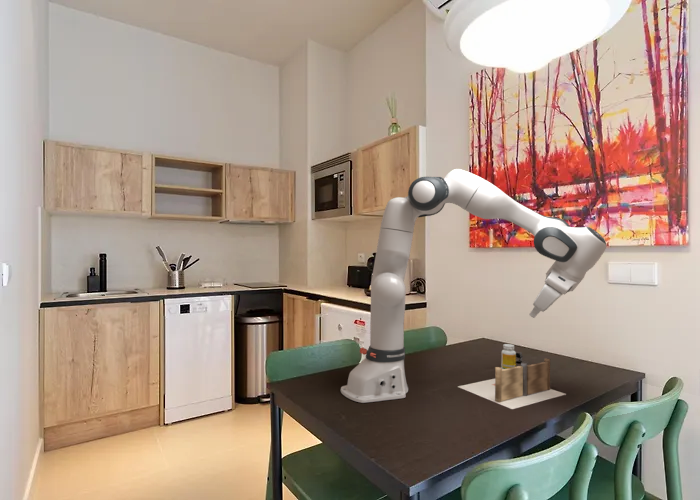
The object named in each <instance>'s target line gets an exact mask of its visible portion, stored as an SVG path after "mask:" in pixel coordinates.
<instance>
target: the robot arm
mask: <svg viewBox="0 0 700 500" xmlns="http://www.w3.org/2000/svg"><path fill="white" fill-rule="evenodd" d="M407 191H408V192H407V196H404V197H402V196H400V197H399V196H397V197H394V198H390V200H388V202H387V203H386V206H385V209H384V211H383V214H382V219H381V222H380V228H379V232H378V233H379V234H378V240H377V244H376V245H377V247H376V251H375V252H376V253H375V257H374V264H373V270H372V275H371V279H370V280H371V281H370V330H369V331H370V333H369V334H370V335H369V336H370V337H369V338H370V339H369V341H370V342H369V344H370V345H369V346H368V348H365V347H360V349H359V353H360V354H361V355H364V356H365V358H364V359H363V360H362V361H361V362H360V363H359V364H357V365H356V366H355V367H354V368H353V369H352V370H351V371H349V374H348V379H347V384H346V385H342V386H341V387H340V393H341V394H342V395H343V396H344V397H345V398H347V399H349V400H351V401H354V402H358V403H362V404H364V403H373V402H382V401H390V400H398V399H404V398H406V394H407V393H408V392H409V386H408V384H407V379H406V372H405V358H406V348H405V346H404V341H405V339H404V336H405V334H404V331H405V329H404V328H405V313H406V311H405V310H406V293H407V292H406V290H407V288H406V284H405V277H406V273H407V269H408V264H409V259H410V256H411V250H412V242H413V239H414V238H413V236H414V231H415V224H416V221H417V220H418V218H422V217H431V216H434V215H437V214H438V213H440V212H441V211H443V209H444V208H445V207H444V206H445V205H446V204H454V205H456V206H458V207H460V208H461V209H463V210H464V211H466V212H468V213H469V214H471V215H473V216H475V217H478V218H481V219H483V220H491V219H492V220H497V219H499V220H500V219H501V220H505V221H508V222H510V223H513V224H515V225H516V226H518V227H520V228H522V229H523V230H525V231H528V232H530V234H532V235H533V236H534V238H533V246H534V248H535V251H537V252H538V254H540V255H541V256H542V257H546V258H548V259H551V260H553V261H554V262H553V263H552V265H551V266H550V268H549V269H548V270H547V272H546V273H545V277H546V278H545V280H544V284H543V286H542V288H541V290H540V291H539V293H538V295H537V297H536V298H535V299H534V301H533V303H532V305H533V308H532V310H531V311H530V313H529V317H531V318H532V319H533V318H534V319H535V318H536V317H537V315H539V313H540V312H543V313H544V312H545V311H546V310H549V308H550V307H551V306H552V305H553V304H554V303H555V302H556V301H557V300H558V299H559V298H561V296H563V295H566V294H567V293H569V292H573V291H574V290H575V289H576V288H577V287H578V285H579V284H580V283H581V282H582V281H583V280H584V279H585V276H586V274H587V272H588V271H589V270H592V268H593V267H595V265H596V264H597V262H598V261H599V260H600V259H601V257H602V255H603V254H604V253H605V251H606V249H607V242H606V239H605V238H604V237H603V236H602V235H601V234H600V233H599V232H598V231H596V230H595V229H593V228H592V227H589V226H583V227H577V226H576V227H573V226H570V224H569V223H568V222H567V221H566V220H564V219H562V218H559V217H555V216H546V215H543V214H541V213H538V212H537V211H534V210H533V209H531V208H529V207H527V206H525V205H523V204H521V203H519V202H517V200H515V199H513V198H512V197H510V196H509V195H508V194H506V193H505V191H503V190H502V189H500V188H499V187H497V186H496V185H494V184H493V183H492V182H489V181H488V180H487V179H485V178H482V177H481V176H479V175H476V174H474V173H472V172H469V171H467V170H464V169H461V168H455V169H454V168H453V169H452V170H451V171H449V172H448V173H447V174H446V175H445V177H444V178H443V176H420V177H418V178H416V179H415V180H413V182H411V184H410V186H409V188H408V190H407Z"/></svg>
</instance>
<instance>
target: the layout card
mask: <svg viewBox="0 0 700 500" xmlns="http://www.w3.org/2000/svg"><path fill="white" fill-rule="evenodd" d="M457 388H460V389H462V390H465V391H467V392H470V394H471V393H472V394H473V395H477V396H479V397H480V398H484V399H486V400H488V401H491V402H493V403H496V404H498V405H501V406H503V407H506V408H508V409H510V410H515V409H519V408H522V407H526V406H529V405H532V404H537V403H539V402H543V401H546V400H547V401H548V400H552V399H554V398H559V397H563V396H566V395H567V393H564V392H561V391H558V390H555V389H552V388H550V390H545V391H541V392H537V393H533V394H530V395H527V396H518V397H515V398H511V399H507V400H503V401H501V402H497V401H495V378H492V379H490V378H489V379H486V380H482V381H477V382H472V383H468V384H464V385H459V386H457Z"/></svg>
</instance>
